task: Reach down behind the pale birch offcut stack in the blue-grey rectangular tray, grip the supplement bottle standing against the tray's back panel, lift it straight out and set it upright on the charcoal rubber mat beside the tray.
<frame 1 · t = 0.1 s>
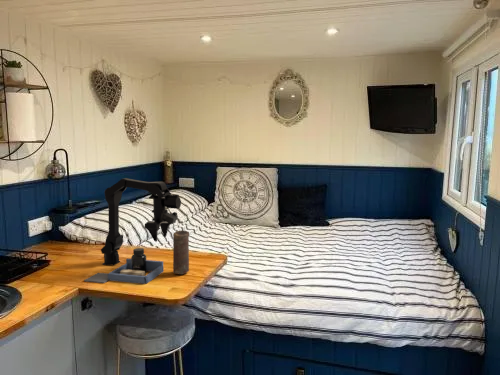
hand: (160, 239, 186), 15 cm above the worktop, tool pointing down, fingers open, 9 cm apart
supplement bottle: (139, 274, 180), resting in blue-grey rectangular tray
blue-grey rectangular tray: (137, 274, 178), on the worktop
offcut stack: (131, 279, 173), resting in blue-grey rectangular tray
mat: (101, 278, 174), on the worktop
candle: (181, 273, 180), on the worktop
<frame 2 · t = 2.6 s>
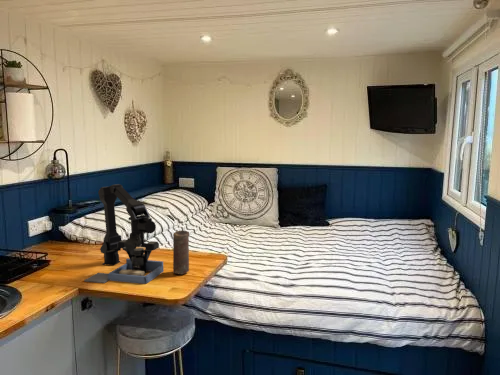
hand: (139, 262, 179), 6 cm above the worktop, tool pointing down, fingers closed on supplement bottle, 7 cm apart
supplement bottle: (139, 274, 180), resting in blue-grey rectangular tray, touching gripper
everything else where it was.
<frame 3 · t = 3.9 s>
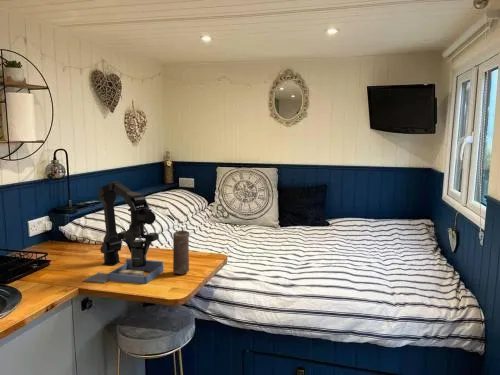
hand: (138, 254, 178), 10 cm above the worktop, tool pointing down, fingers closed on supplement bottle, 7 cm apart
supplement bottle: (139, 265, 179), point 4 cm above the worktop, touching gripper
everything else where it was.
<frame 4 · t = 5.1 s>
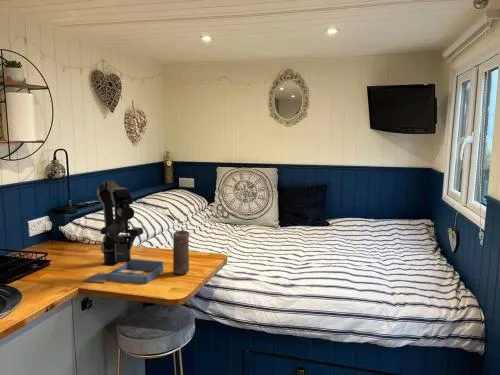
hand: (122, 249, 176), 13 cm above the worktop, tool pointing down, fingers closed on supplement bottle, 7 cm apart
supplement bottle: (123, 261, 176), point 7 cm above the worktop, touching gripper
everything else where it was.
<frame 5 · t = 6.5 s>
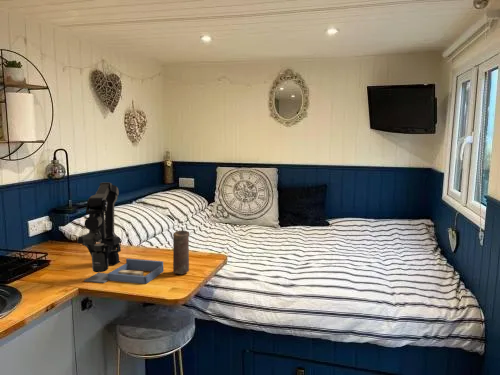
hand: (100, 258, 173), 9 cm above the worktop, tool pointing down, fingers closed on supplement bottle, 7 cm apart
supplement bottle: (100, 270, 173), point 4 cm above the worktop, touching gripper
everything else where it was.
when the fingers open (7 cm above the worktop, at t = 7.8 s): supplement bottle drops 1 cm, resting on mat.
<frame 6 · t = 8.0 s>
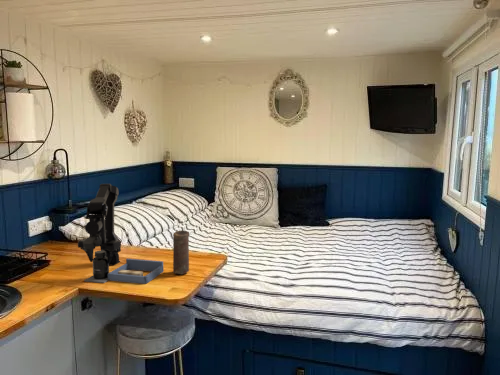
hand: (100, 262, 173), 7 cm above the worktop, tool pointing down, fingers open, 9 cm apart
supplement bottle: (101, 277, 174), resting on mat
everything else where it was.
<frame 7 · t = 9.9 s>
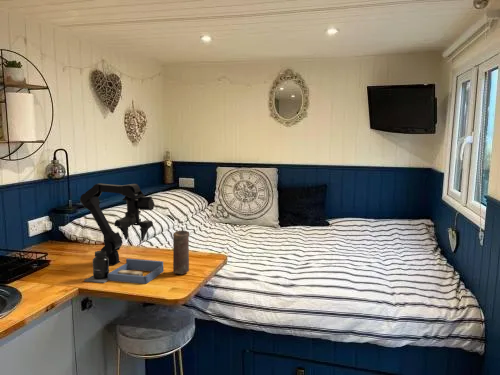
hand: (134, 240, 190), 13 cm above the worktop, tool pointing down, fingers open, 9 cm apart
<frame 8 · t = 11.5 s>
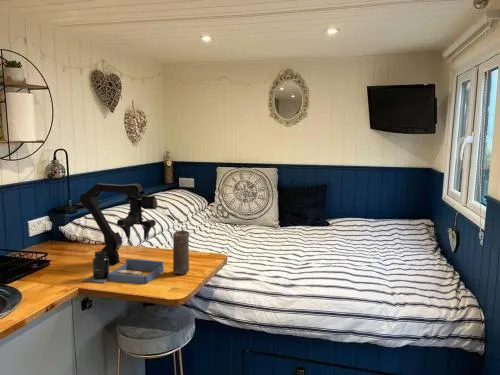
hand: (136, 239, 192), 13 cm above the worktop, tool pointing down, fingers open, 9 cm apart
at the end: supplement bottle inside the target area (0.2 cm from its centre), resting on mat; supplement bottle tilted 0°; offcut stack moved 1.3 cm from its start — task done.
